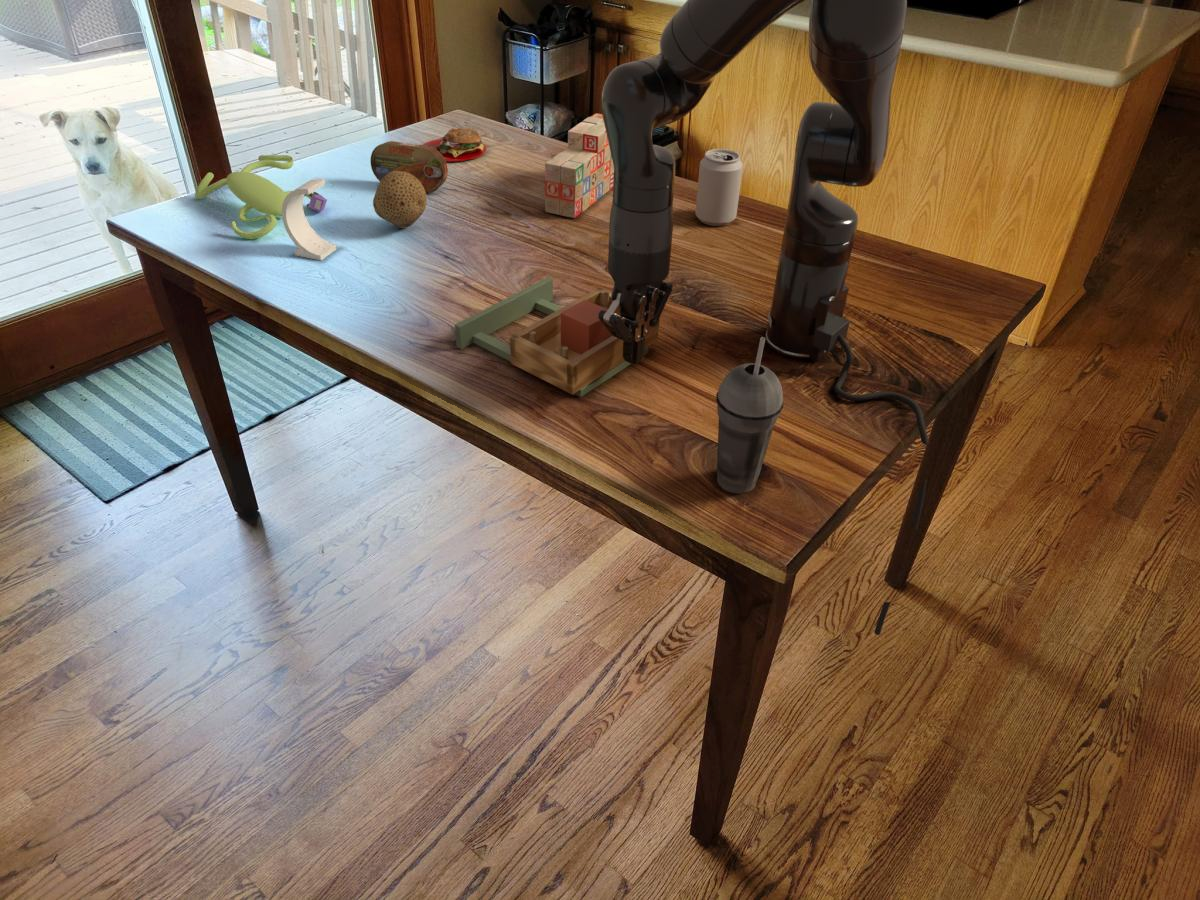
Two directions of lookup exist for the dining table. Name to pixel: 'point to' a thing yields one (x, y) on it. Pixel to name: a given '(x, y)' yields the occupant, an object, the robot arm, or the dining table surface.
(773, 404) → the beverage cup
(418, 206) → the natural sponge
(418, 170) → the tin
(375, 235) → the dining table surface
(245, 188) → the figurine
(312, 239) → the headphone stand
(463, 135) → the hamburger
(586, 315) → the block
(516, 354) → the open box
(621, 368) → the green rectangular frame
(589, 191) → the stack of blocks
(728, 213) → the can
